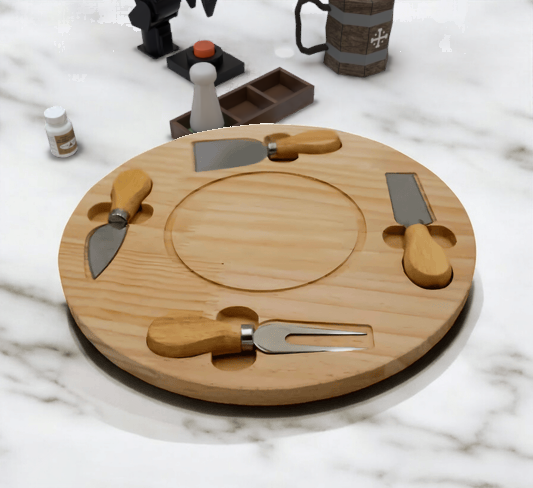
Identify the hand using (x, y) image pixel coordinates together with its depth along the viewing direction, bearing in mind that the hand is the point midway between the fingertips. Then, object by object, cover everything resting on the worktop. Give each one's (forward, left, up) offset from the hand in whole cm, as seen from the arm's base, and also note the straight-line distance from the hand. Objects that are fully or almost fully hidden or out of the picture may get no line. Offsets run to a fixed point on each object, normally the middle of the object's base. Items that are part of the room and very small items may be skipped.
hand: (201, 12), depth 120 cm
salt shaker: (+18, -14, -12) cm, 25 cm away
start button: (0, 0, -8) cm, 8 cm away
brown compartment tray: (+18, -6, -12) cm, 22 cm away
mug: (+16, +22, -12) cm, 30 cm away
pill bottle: (+4, -34, -12) cm, 36 cm away
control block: (0, 0, -12) cm, 12 cm away
